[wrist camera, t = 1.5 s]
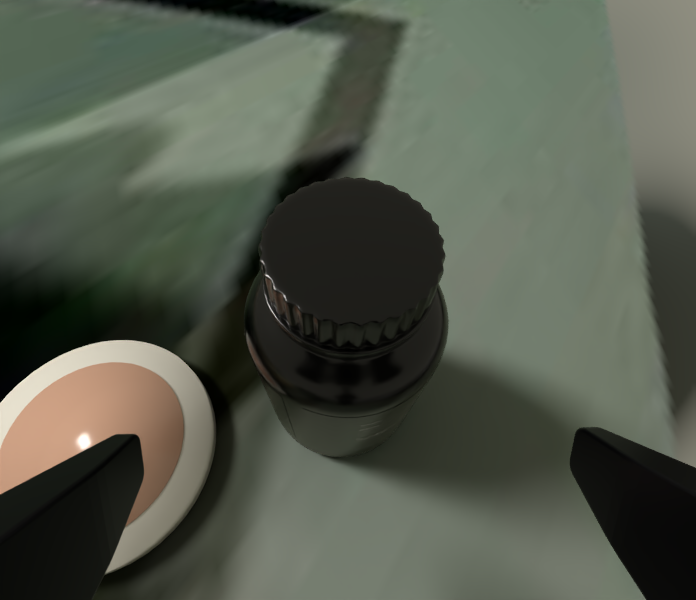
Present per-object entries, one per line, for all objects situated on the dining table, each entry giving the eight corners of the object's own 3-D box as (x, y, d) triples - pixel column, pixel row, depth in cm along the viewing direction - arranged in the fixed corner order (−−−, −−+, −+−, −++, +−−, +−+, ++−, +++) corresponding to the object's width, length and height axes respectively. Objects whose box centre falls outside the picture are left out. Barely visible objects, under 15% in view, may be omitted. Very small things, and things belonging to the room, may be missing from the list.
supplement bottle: (400, 328, 22) (468, 153, 12) (412, 458, 19) (522, 373, 9) (276, 327, 22) (234, 146, 12) (266, 460, 19) (194, 374, 8)
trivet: (258, 457, 19) (255, 454, 18) (38, 649, 15) (18, 657, 14) (149, 312, 22) (141, 303, 21) (-53, 440, 18) (-74, 435, 17)
